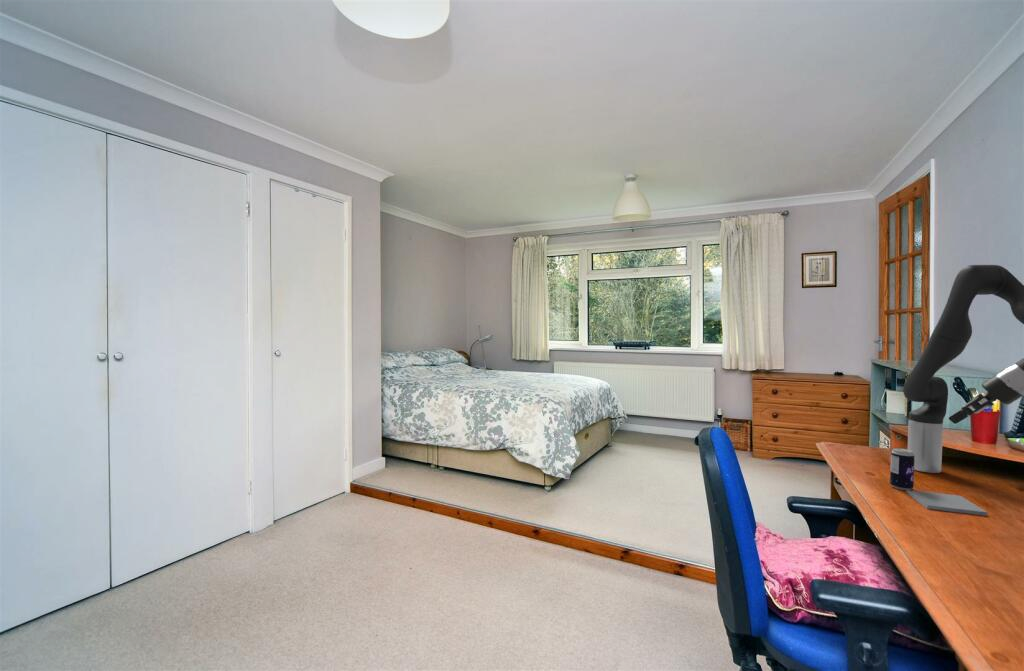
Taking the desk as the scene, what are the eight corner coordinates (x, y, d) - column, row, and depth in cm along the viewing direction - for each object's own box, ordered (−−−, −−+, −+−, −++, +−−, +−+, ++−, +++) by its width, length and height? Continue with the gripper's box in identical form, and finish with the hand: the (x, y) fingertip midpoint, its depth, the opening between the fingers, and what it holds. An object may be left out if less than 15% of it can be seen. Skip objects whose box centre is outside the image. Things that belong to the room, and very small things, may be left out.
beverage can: (907, 492, 144) (909, 453, 143) (886, 486, 149) (887, 448, 148) (916, 489, 146) (918, 451, 146) (895, 483, 151) (896, 446, 151)
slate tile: (906, 493, 143) (906, 489, 143) (960, 499, 139) (960, 495, 139) (927, 508, 131) (927, 505, 131) (987, 515, 126) (987, 512, 126)
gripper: (1000, 372, 136) (946, 407, 145) (994, 374, 127) (937, 411, 136) (1027, 393, 132) (970, 427, 140) (1022, 396, 123) (962, 433, 132)
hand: (954, 419), depth 138 cm, fingers open, 8 cm apart
